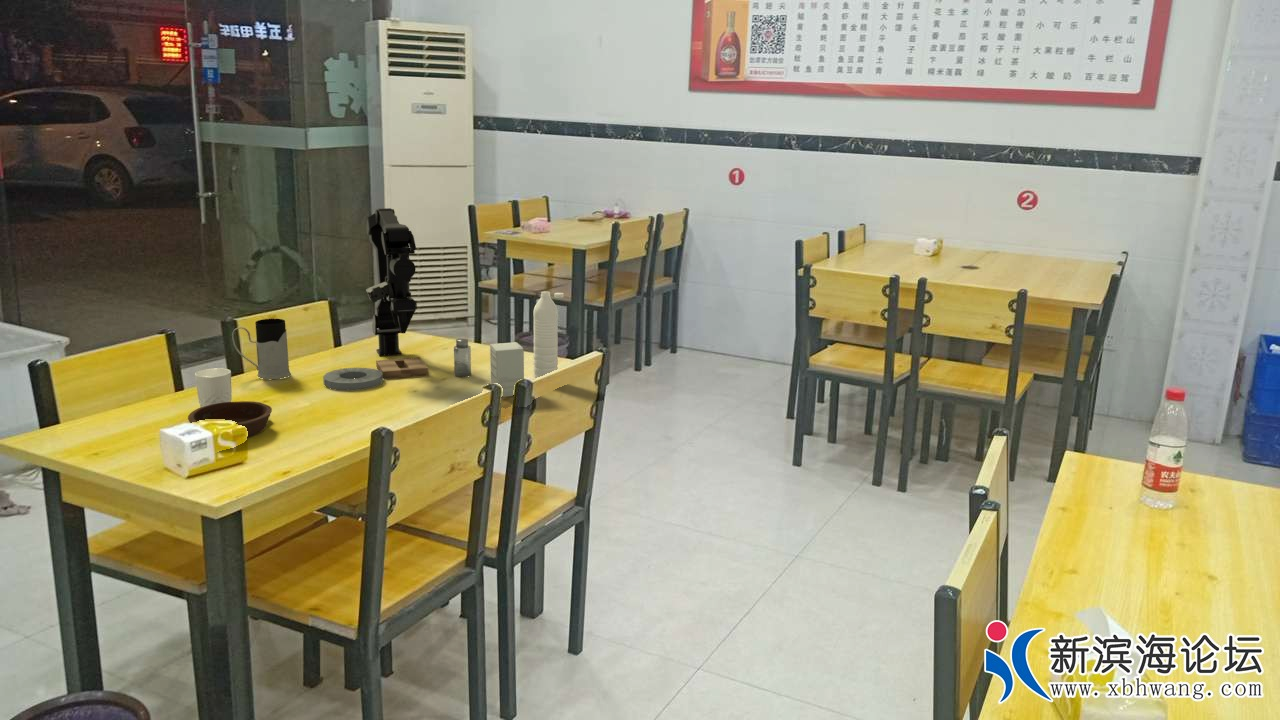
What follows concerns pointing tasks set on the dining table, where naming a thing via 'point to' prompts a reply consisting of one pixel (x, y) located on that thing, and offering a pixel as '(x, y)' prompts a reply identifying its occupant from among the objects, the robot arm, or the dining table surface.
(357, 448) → the dining table surface
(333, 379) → the round bore
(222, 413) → the dish
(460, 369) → the grey small bottle
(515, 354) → the supplement box
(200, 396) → the white cup
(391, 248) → the robot arm
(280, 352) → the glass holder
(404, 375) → the block
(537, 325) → the water bottle
